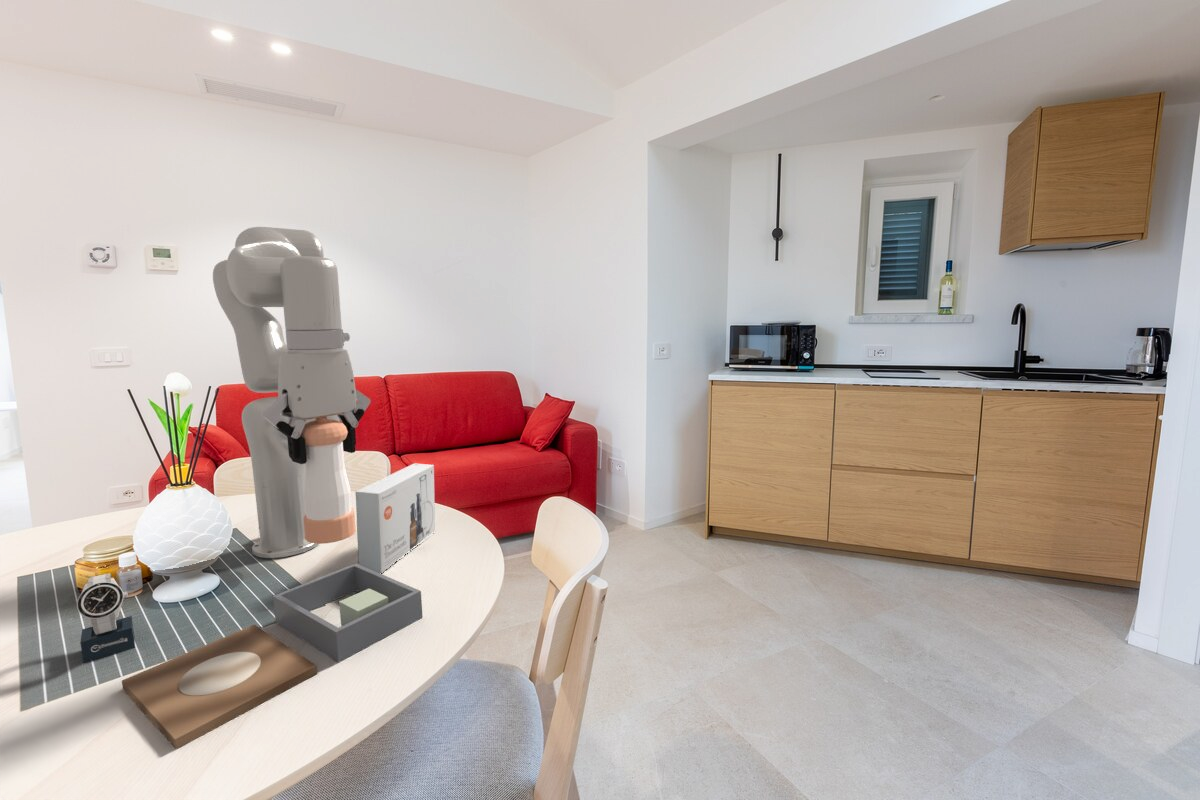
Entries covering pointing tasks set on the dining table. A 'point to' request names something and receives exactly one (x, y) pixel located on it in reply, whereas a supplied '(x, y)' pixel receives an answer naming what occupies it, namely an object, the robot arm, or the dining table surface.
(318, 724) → the dining table surface
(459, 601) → the dining table surface
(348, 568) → the bin
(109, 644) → the watch
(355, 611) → the sage block
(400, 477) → the skincare box
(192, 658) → the serving board
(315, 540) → the pepper shaker
